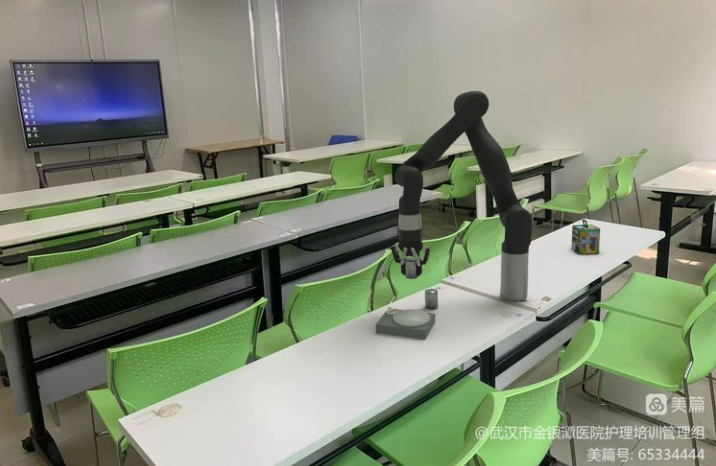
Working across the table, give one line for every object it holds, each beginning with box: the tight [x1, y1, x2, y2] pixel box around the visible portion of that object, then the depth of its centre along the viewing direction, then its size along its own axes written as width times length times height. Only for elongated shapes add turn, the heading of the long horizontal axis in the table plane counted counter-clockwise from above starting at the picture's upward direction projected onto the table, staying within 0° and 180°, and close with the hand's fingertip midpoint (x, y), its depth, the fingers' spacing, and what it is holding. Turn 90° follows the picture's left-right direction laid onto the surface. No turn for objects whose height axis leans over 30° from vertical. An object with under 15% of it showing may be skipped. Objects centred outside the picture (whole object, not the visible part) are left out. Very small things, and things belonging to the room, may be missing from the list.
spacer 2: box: [424, 288, 439, 311], centre depth 184 cm, size 4×4×6 cm
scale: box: [375, 307, 436, 340], centre depth 170 cm, size 16×13×4 cm
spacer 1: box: [404, 257, 419, 280], centre depth 179 cm, size 4×4×6 cm
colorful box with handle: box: [570, 218, 601, 255], centre depth 235 cm, size 9×9×15 cm
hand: (411, 274), depth 180 cm, fingers closed on spacer 1, 4 cm apart
